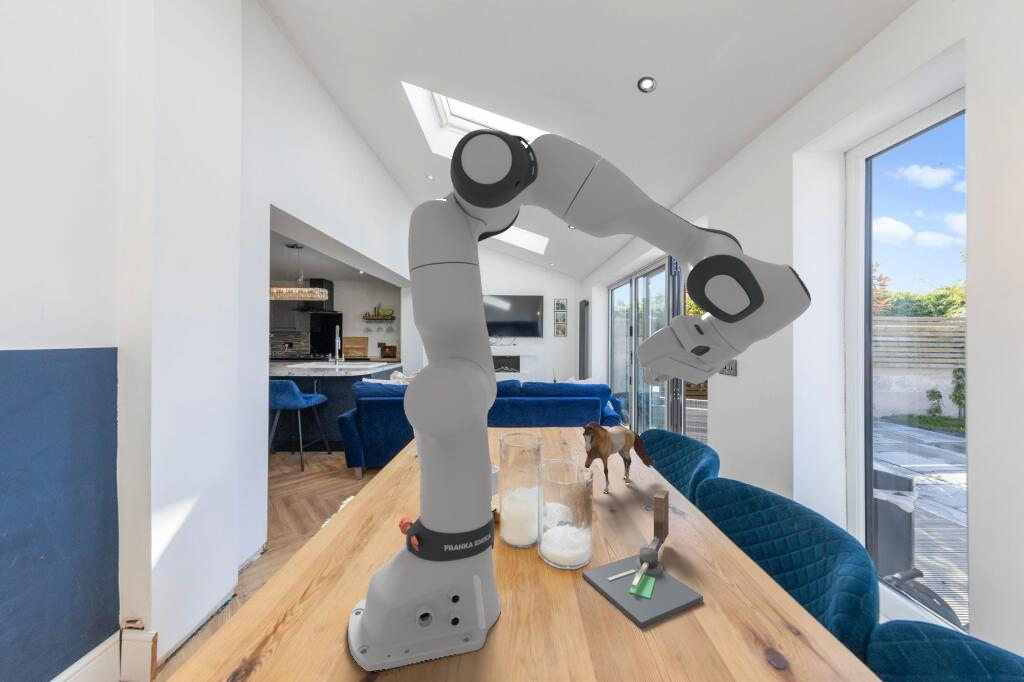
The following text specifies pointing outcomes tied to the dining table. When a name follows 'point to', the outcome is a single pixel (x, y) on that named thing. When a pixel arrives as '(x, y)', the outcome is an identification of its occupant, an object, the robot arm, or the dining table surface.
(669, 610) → the white-striped grey panel
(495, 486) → the white cup
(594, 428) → the horse figurine
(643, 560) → the lever with brown handle
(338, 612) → the dining table surface
